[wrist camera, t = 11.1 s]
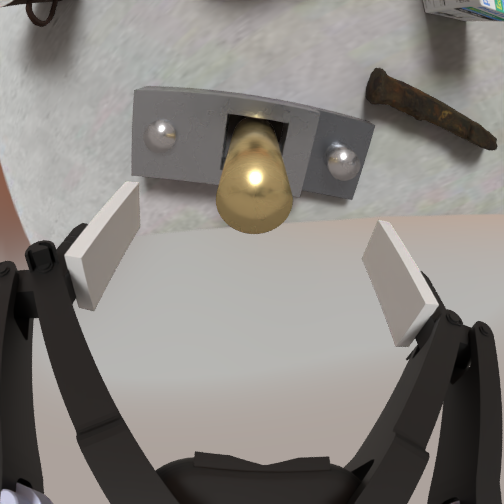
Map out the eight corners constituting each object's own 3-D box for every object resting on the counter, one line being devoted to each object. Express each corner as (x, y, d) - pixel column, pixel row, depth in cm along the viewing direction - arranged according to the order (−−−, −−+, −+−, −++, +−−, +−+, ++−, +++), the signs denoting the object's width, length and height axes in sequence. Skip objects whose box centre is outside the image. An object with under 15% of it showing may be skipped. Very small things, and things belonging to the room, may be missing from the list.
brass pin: (279, 120, 30) (300, 172, 17) (271, 158, 32) (283, 238, 19) (236, 113, 29) (220, 160, 16) (230, 152, 32) (212, 228, 19)
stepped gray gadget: (368, 121, 29) (384, 131, 26) (347, 192, 34) (358, 210, 31) (147, 86, 27) (132, 90, 23) (143, 162, 32) (129, 177, 29)
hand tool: (359, 98, 28) (374, 104, 24) (370, 66, 26) (387, 68, 22) (475, 156, 31) (495, 170, 27) (485, 131, 28) (506, 143, 25)
